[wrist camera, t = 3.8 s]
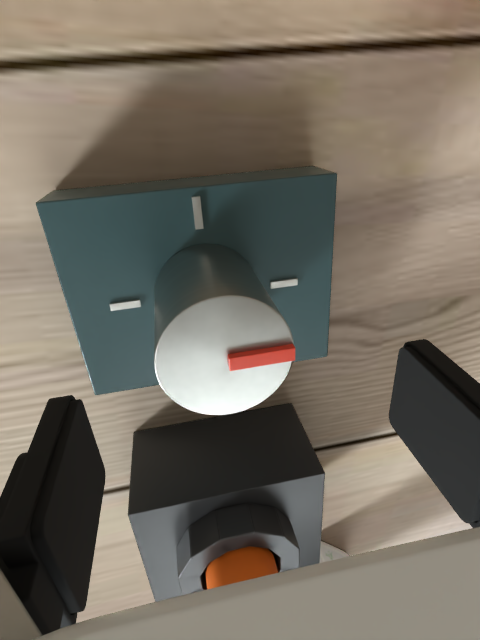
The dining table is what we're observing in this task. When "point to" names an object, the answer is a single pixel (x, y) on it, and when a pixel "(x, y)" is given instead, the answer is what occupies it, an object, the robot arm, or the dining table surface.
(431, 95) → the dining table surface
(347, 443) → the dining table surface
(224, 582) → the orange push button
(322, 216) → the dial console
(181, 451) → the push button box
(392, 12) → the dining table surface
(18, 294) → the dining table surface
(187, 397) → the dial
